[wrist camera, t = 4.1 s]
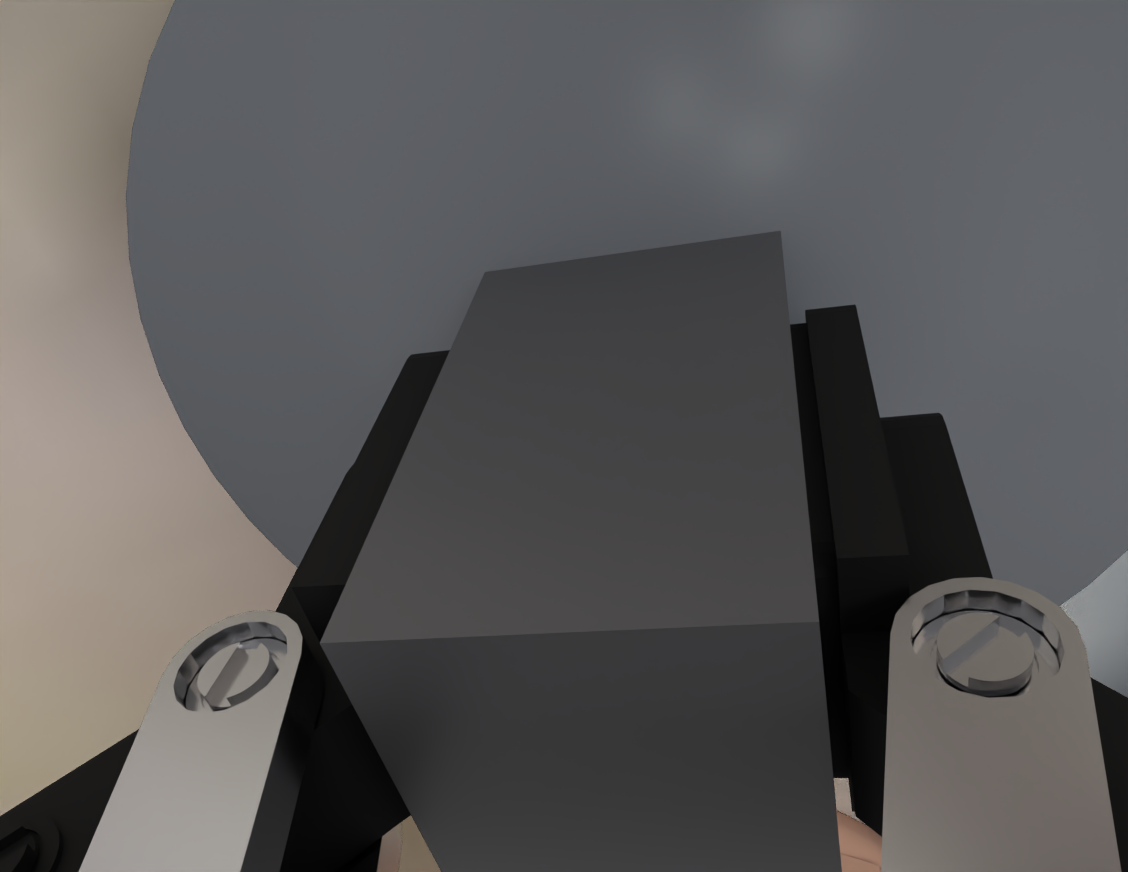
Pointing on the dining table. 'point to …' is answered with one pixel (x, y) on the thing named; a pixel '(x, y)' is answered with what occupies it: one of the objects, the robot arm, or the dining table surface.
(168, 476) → the dining table surface
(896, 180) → the lid
